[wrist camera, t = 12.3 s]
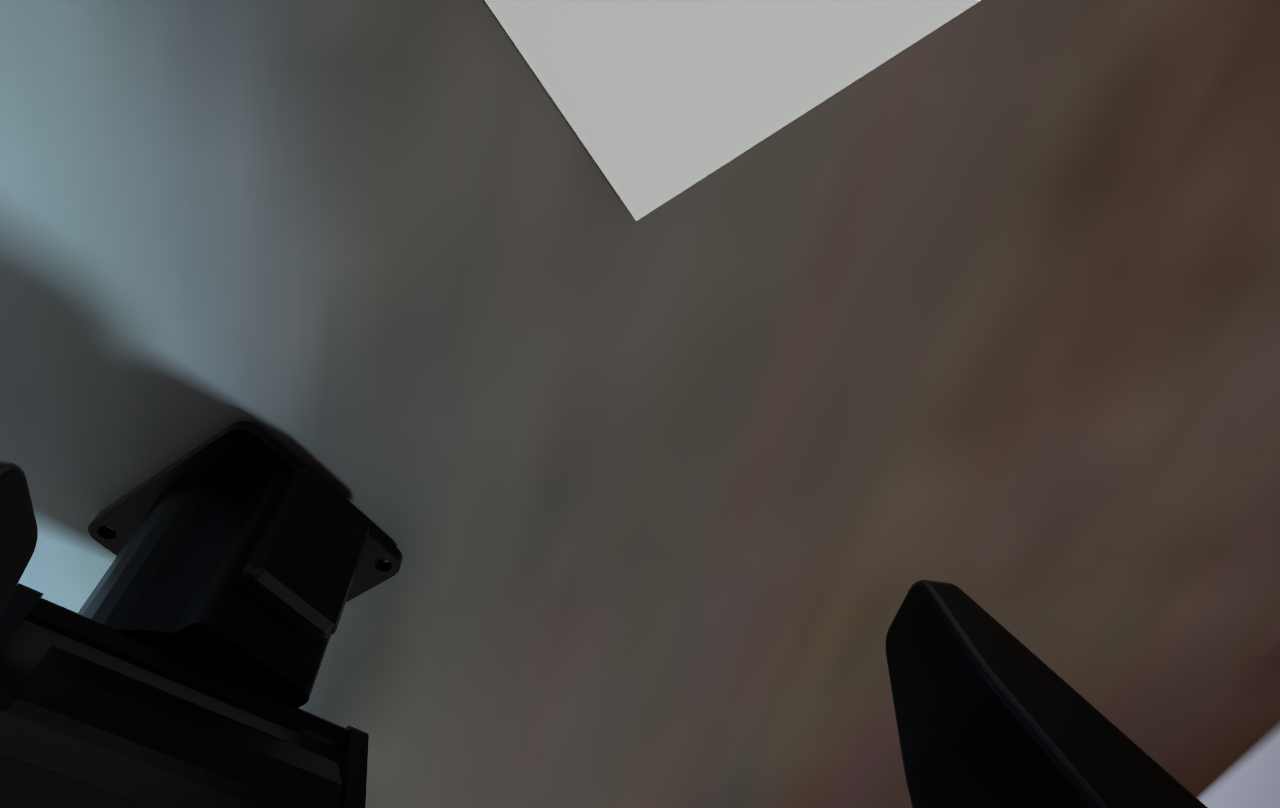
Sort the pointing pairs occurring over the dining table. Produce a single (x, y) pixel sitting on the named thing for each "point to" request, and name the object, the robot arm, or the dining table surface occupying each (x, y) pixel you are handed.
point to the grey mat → (700, 73)
